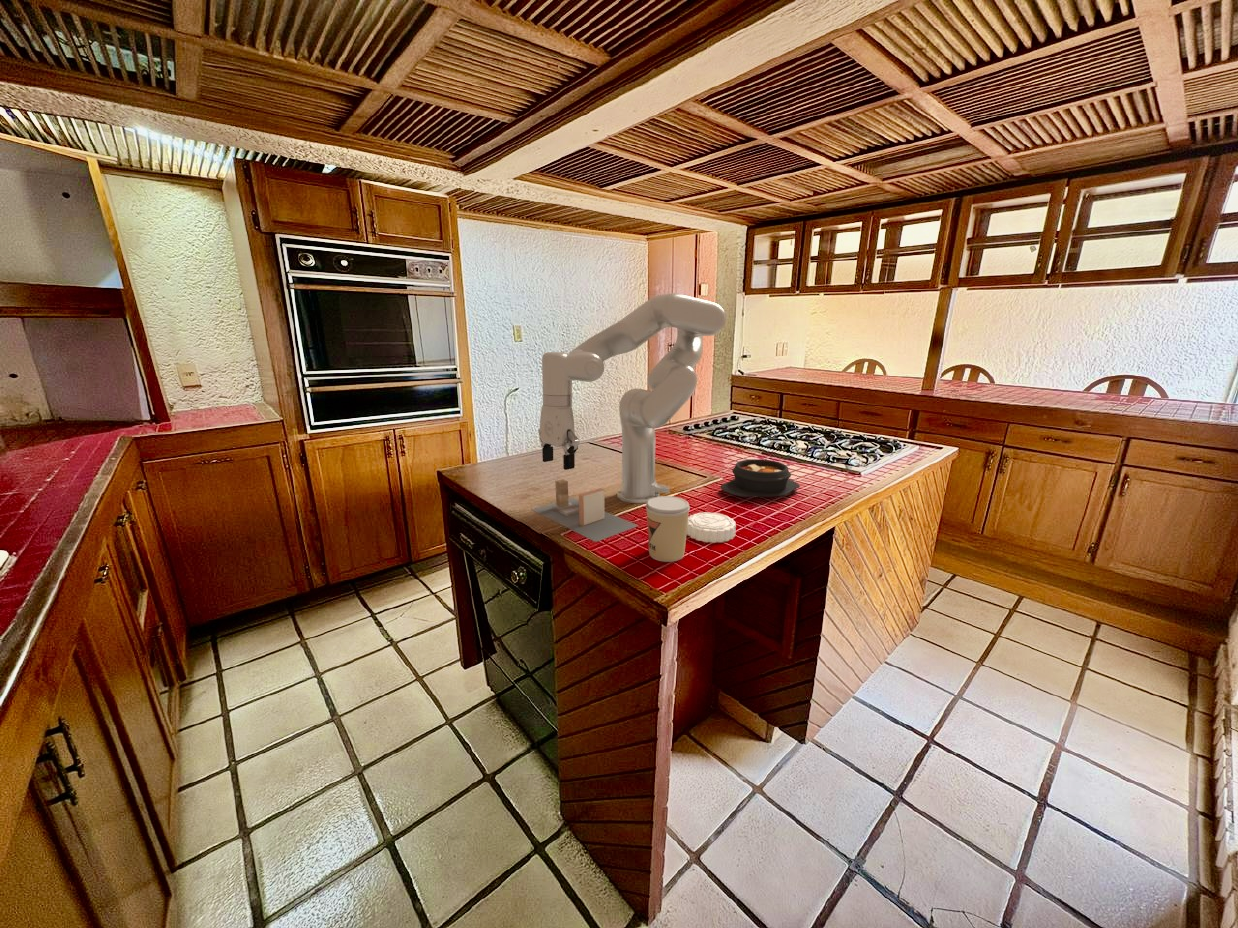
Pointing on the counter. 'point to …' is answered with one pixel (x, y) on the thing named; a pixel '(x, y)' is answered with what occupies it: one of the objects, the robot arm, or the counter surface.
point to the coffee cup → (667, 527)
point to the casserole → (760, 479)
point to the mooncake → (711, 527)
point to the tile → (591, 507)
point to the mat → (590, 531)
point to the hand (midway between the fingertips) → (558, 464)
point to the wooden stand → (563, 499)
